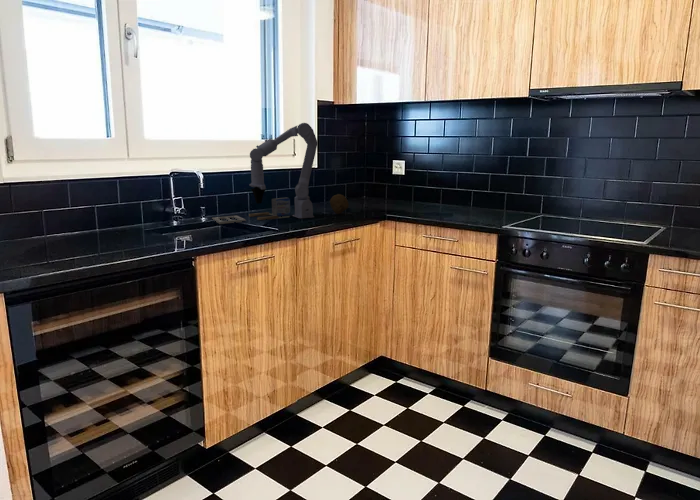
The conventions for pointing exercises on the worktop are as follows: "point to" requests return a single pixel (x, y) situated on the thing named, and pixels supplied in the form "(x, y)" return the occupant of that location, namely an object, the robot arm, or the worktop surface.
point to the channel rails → (263, 215)
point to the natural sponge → (339, 203)
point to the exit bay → (282, 217)
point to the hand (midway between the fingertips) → (258, 203)
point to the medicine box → (281, 207)
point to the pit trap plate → (228, 219)
